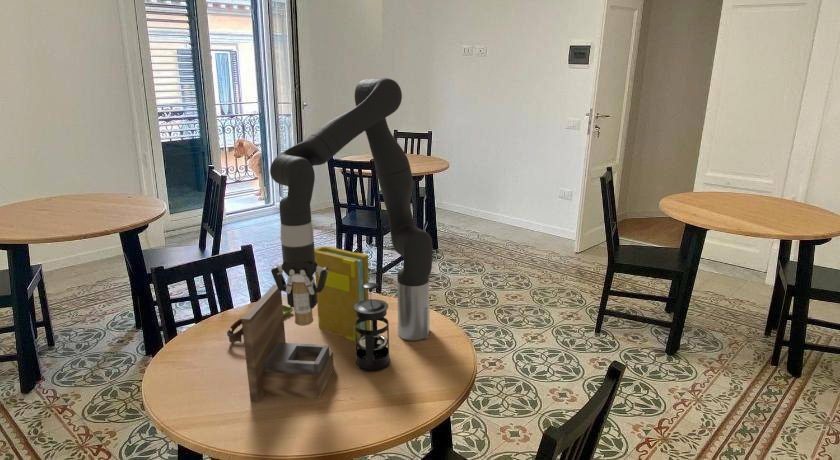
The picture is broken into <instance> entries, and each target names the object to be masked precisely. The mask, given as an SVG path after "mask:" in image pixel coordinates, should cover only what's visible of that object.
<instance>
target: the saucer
mask: <svg viewBox="0 0 840 460" xmlns="http://www.w3.org/2000/svg"><path fill="white" fill-rule="evenodd" d="M282 306H283V318H285V317H286V316H288V315H290V314H292V312H293V311H294V307H293V308H292V307H290V306H289V305H284V304H282Z"/></svg>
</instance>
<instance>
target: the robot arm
mask: <svg viewBox="0 0 840 460" xmlns="http://www.w3.org/2000/svg"><path fill="white" fill-rule="evenodd" d="M402 94H403V93H402V89H401V86H400V85H399V84H398V82H397V81H396V80H394V79H392V78H387V77H381V78H379V77H378V78H365V79H362V80H360V81H359V82H358V83H357V85H356V86H355V89H354V103H355V107H353V108H351V109H350V110H348V111H346V112H345V113H342V114H340V115H339V116H336V117H334V118H332V119H331V120H329V121H327V122H326V123H324V124H322V126H320V127H318V128H317V130H315V131H314V132H313V133H312V134H310V135H309V136H308V137H307V138H306V139H305V140H303V141H301V142H299V143H297V144H295V145H293V146H291V147H288V149H285V150H284V151H282V152H281V153H280V154H278V155H277V156H276V157H275V158H274V159H273V161H272V162H271V164H270V169H269V174H270V178H271V179H272V180H273V181H274V182H275V183H277V184H278V185H281V186H286V187H287V196H285V197H282V198H281V199H280V201H279V205H278V206H279V208H278V209H279V217H280V242H281V243H280V244H281V252H282V254H281V255H282V264H281V265H277V264H276V265H275V266H273V267H272V268H271V270H270V272H271V274H272V277H273V279H274V283H275V285H277V287H278V290H279V291H281V292H284V293H286V298H287V301H286V302H287V306H289V307H291V308H293V309H294V302H293V288H292V282H293V281H292V276H293V275H294V274H295V273H299V274H301V275H302V276H304V279H305V278H306V279H305V285H306V287H308V290H309V293H310V294H309V300H310V308H312V309H314V308H315V307H316V306H317V302H318V301H317V293H318V292H319V293H320V292H321V291H322V290H323V288H324V286H325V282H326V278H327V274H328V270H329V268H328V267H324V268H323V267H320V266H318V265H317V263H316V261H315V236H314V227H313V223H312V211H311V210H312V209H311V202H312V197H313V191H314V187H315V186H314V185H315V180H316V177H315V169H314V167H315V166H321V165H324V164H325V163H328V162H329V161H330V159H332V158H333V157H334V156H336V155H337V153H339V152H340V151H341V150H342V149H343V148H344V147H345V146H347V145H348V144H349V143H350V142H352V141H353V140H354V139H356V138H357V137H359V135H361V134H362V133H364V132H365V135H366V138H367V141H368V144H369V149H370V152H371V155H372V158H373V162H374V166H375V172H376V176H377V179H378V184H379V187H380V191H381V194H382V197H383V202H384V206H385V208H386V213H387V217H388V224H389V231H390V240H391V243H392V248H393V249H394V250H395V252H396V253H397V254H399V256H402V257H403V267H402V268H400V269H399V270H398V272H397V274H396V275H397V278H396V280H397V281H396V283H397V284H396V285H397V333H398V336H399V337H400V338H401V339H403V340H406V341H407V340H408V341H420V340H421V341H422V340H427V339H428V338H429V333H430V329H431V328H430V324H431V323H430V322H431V321H430V318H431V317H430V313H431V312H430V310H431V309H430V275H431V273H432V269H433V252H434V249H433V247H434V246H433V239H432V237H431V235H430V234H429V233H428V232H427V231H425V230H423V229H421V228H418V226H416V223H415V220H414V217H413V213H412V209H411V200H412V194H413V189H414V179H413V174H412V169H411V166H410V161H409V159H408V156H407V155H406V153H405V151H404V149H403V148H402V146H401V145H400V143H399V142H398V141H397V140H396V138H395V137H394V135H393V134H392V132H391V131H390V129H389V125H388V123H387V117H389V116H391V115H392V114H394V113H395V112H396V111H397V110H398V109H399V108H400V106H401V103H402V100H403V99H402V98H403V95H402ZM315 271H317V272H318V276H320V278H319V282H318V286H316V278H315V276H314V275H315ZM283 272H284V273H285V274H286V275H287V276H288V278H287V282H286V280H285V278H284V275H283ZM309 279H310V280H309Z"/></svg>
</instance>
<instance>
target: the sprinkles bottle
mask: <svg viewBox="0 0 840 460" xmlns="http://www.w3.org/2000/svg"><path fill="white" fill-rule="evenodd" d="M305 279H306V278H305ZM305 279H304V276H302V275H301V274H299V273H295V274H294V275H293V276H292V281H293V282H292V288H293V302H294V307H293V311H294V324H296V325H297V326H300V327H301V326H302V327H303V326H304V327H305V326H309V325H311V324H312V323H313V322H314V318H313V316H314V314H313V308H310V300H309V294H310V293H309V290H308V287H306V285H305ZM309 280H310V279H309Z"/></svg>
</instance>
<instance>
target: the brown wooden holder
mask: <svg viewBox="0 0 840 460" xmlns="http://www.w3.org/2000/svg"><path fill="white" fill-rule="evenodd" d="M282 297H283V296H282V291H279V290H278V287H277V285H276V284H273V285H272V286H271V287H270V288H269V289H267V291H266V292H265V293H264V294H263V295H262V296H261V297H260V298H259V300H258V301H256V303H254V305H253V306H252V307H251V308H250V309H249V310H248V312H246V313H245V315H244V316H242V324H241V325H242V326H241V328H243V335H242V336H243V343H244V354H245V362H246V371H247V382H248V390H249V399H250V402H251V403H259V402H260V401H261V399H262V398H263V396H272V397H273V396H276V397H291V398H293V397H294V398H306V399H307V398H308V399H320V397H321V394H322V393H323V391H324V389H325V387H326V385H327V382H328V381H329V379H330V377H331V374H332V372H333V370H334V368H335V367H334V366H335V365H334V350H330V345H329V344H319V343H318V344H316V343H315V344H313V343H300V342H299V343H297V342H296V343H295V342H286V333H285V321H284V320H285V319H284V318H285V317H283V306H282V305H283V298H282Z"/></svg>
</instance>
